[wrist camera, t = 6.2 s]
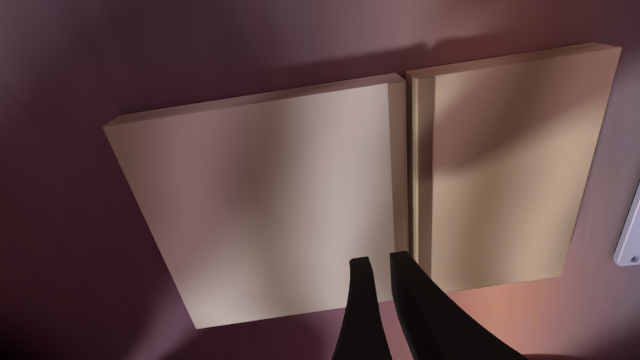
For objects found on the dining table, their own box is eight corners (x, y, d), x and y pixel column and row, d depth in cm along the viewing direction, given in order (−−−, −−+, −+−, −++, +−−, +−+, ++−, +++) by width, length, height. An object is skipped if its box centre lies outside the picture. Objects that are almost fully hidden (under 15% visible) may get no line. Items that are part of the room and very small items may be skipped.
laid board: (593, 42, 15) (624, 47, 13) (544, 258, 20) (562, 277, 19) (405, 71, 15) (416, 79, 13) (408, 277, 21) (417, 298, 19)
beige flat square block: (395, 72, 15) (405, 81, 13) (402, 278, 21) (409, 299, 19) (119, 115, 15) (101, 127, 14) (202, 307, 21) (195, 330, 19)
